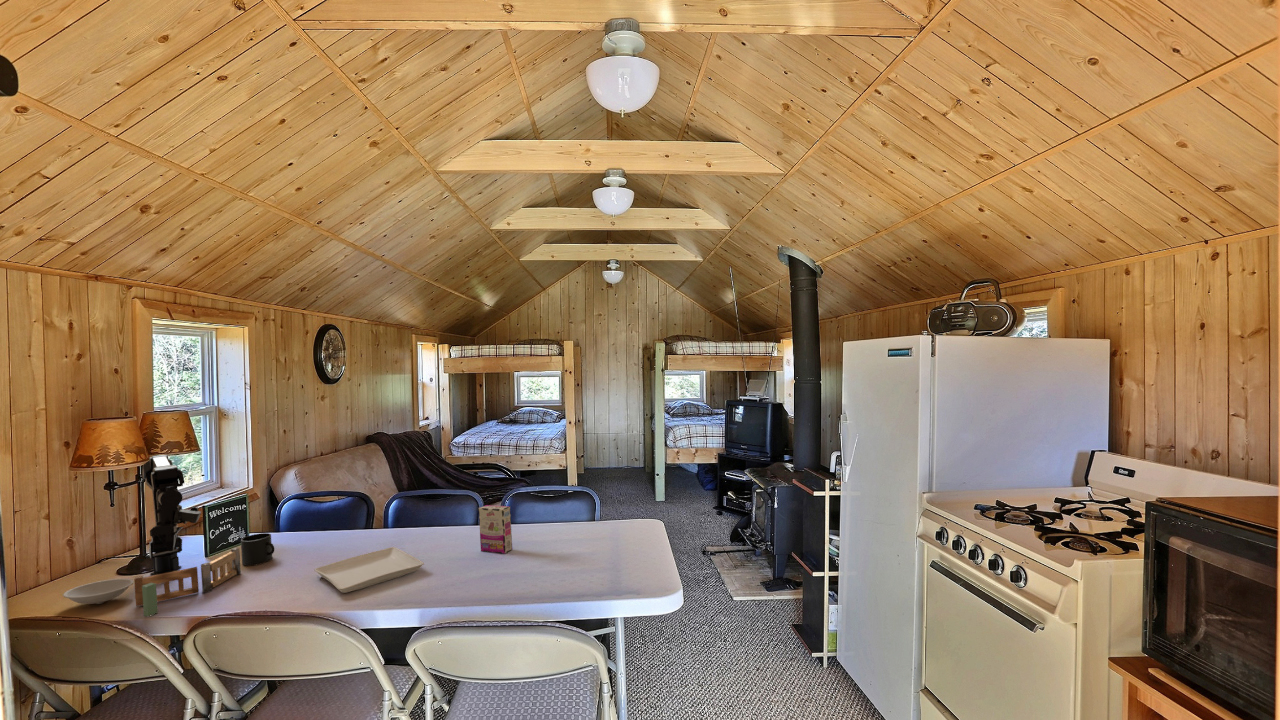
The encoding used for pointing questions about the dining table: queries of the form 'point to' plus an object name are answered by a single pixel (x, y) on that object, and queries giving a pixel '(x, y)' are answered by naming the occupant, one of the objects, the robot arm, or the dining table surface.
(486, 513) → the candy bar box
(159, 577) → the gate
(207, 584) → the wooden fence panel
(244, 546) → the mug
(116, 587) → the dish
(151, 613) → the post
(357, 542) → the dining table surface
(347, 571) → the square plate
